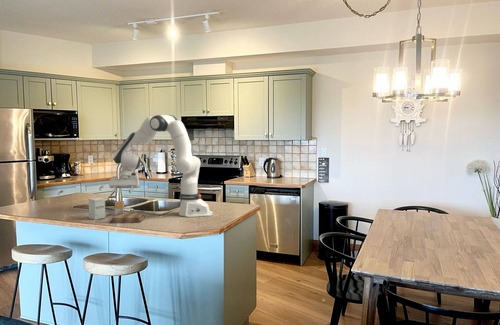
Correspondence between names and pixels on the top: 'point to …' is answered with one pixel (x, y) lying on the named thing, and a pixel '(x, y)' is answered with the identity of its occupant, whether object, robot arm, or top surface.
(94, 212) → the supplement box
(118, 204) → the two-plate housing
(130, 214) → the walnut stand
